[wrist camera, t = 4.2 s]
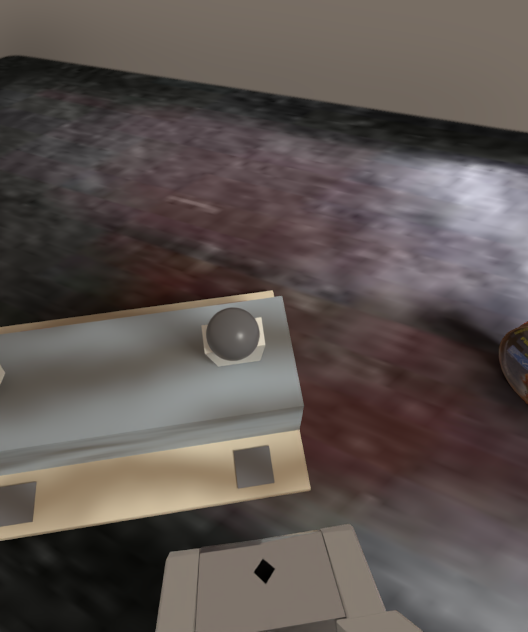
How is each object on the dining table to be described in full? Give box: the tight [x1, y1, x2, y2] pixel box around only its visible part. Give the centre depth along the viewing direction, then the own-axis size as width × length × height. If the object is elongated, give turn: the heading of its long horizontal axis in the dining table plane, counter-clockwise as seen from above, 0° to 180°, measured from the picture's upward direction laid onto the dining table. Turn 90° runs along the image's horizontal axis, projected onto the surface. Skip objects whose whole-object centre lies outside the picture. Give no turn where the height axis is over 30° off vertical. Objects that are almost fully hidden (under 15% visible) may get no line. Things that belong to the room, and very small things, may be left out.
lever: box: [201, 307, 265, 367], centre depth 26 cm, size 3×3×12 cm
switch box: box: [0, 290, 311, 541], centre depth 35 cm, size 18×26×7 cm
